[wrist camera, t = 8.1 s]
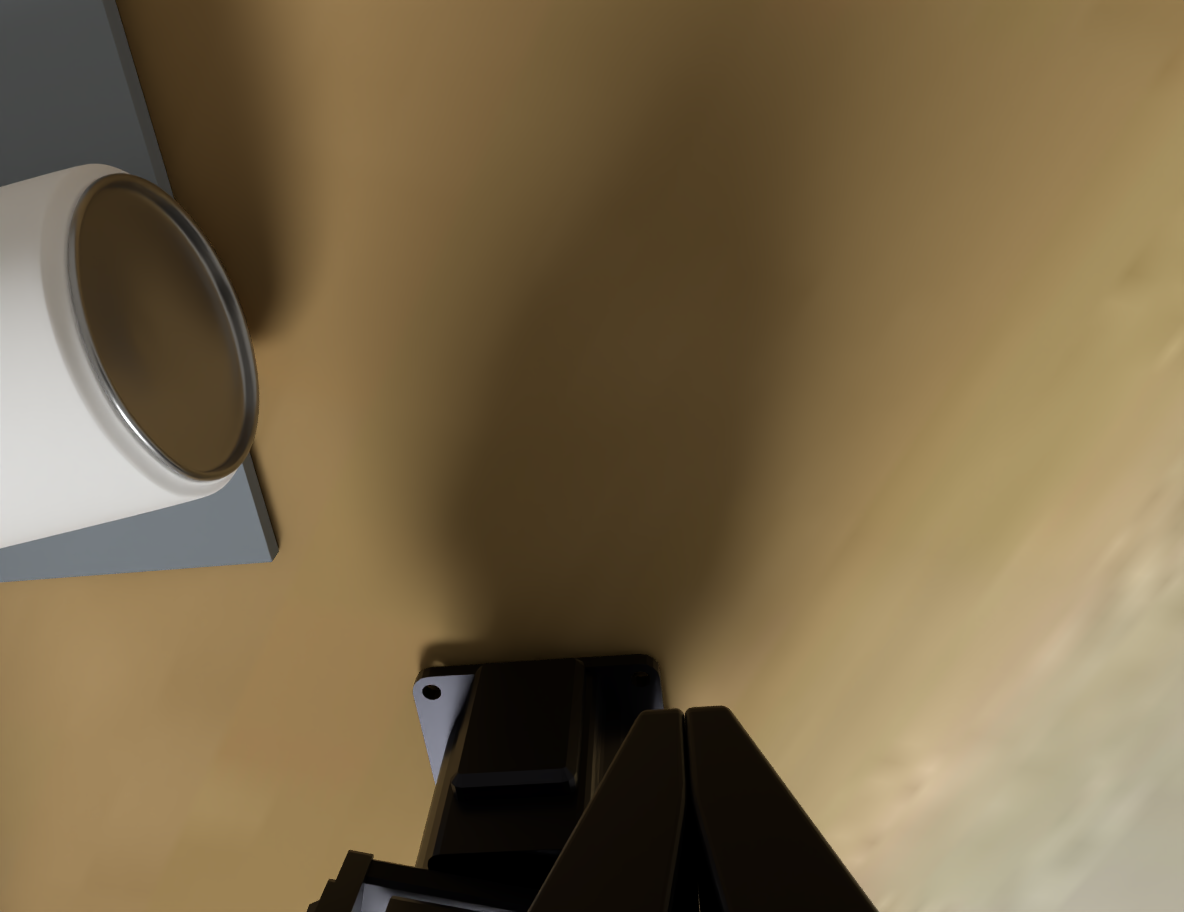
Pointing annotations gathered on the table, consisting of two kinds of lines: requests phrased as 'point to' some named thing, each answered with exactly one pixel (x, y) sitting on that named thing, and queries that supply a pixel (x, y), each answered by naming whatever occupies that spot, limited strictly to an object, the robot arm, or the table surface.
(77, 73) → the mat
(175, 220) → the can
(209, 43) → the table surface
